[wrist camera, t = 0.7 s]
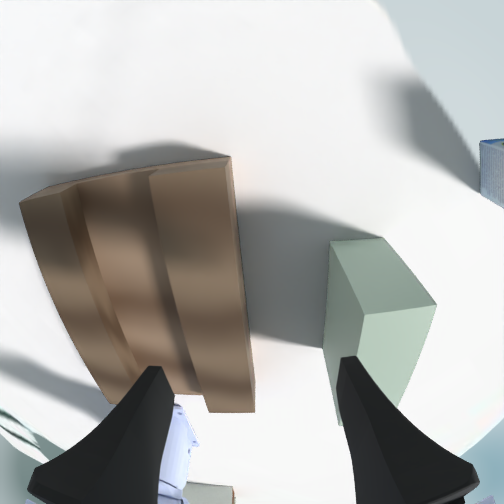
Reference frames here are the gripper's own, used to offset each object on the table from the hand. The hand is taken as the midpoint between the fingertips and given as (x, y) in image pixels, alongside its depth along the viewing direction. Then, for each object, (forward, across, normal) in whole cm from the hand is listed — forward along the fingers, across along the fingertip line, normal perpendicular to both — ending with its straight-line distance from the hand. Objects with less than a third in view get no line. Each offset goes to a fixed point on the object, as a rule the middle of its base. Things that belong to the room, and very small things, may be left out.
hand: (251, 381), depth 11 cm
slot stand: (+10, +8, +3) cm, 13 cm away
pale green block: (+10, -7, +4) cm, 13 cm away
